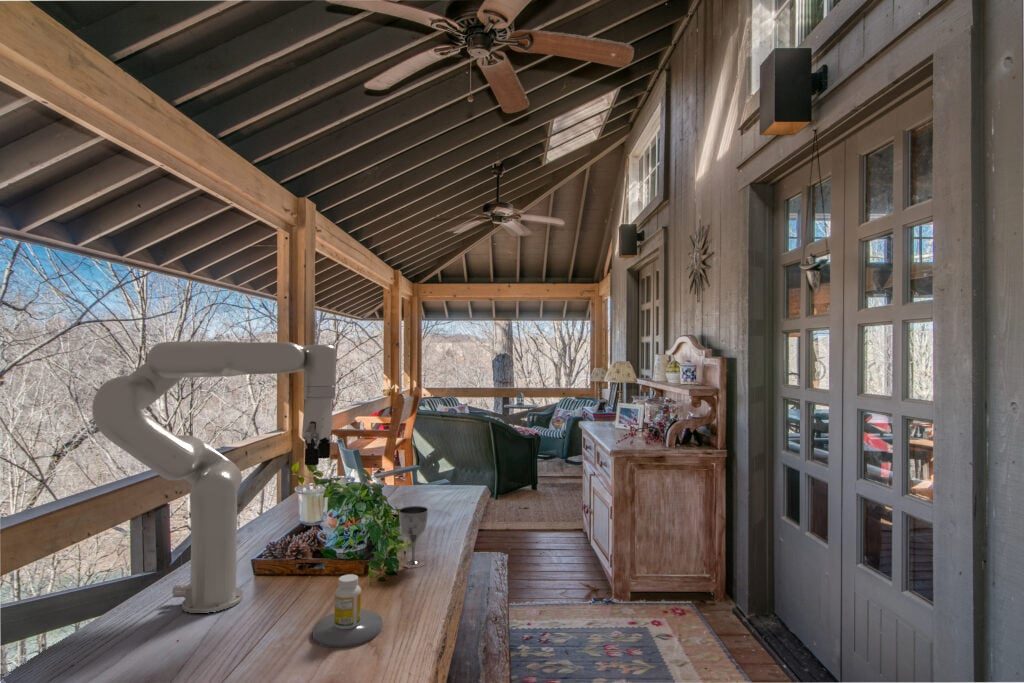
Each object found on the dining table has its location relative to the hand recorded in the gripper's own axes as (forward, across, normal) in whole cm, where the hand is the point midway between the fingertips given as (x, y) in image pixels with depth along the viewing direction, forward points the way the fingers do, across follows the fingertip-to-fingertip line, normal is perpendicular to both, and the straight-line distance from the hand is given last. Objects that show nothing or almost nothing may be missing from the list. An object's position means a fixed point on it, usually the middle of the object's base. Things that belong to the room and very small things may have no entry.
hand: (317, 461), depth 137 cm
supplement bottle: (+31, +22, +14) cm, 40 cm away
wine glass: (+31, -16, +23) cm, 42 cm away
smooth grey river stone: (+32, +22, +14) cm, 41 cm away
